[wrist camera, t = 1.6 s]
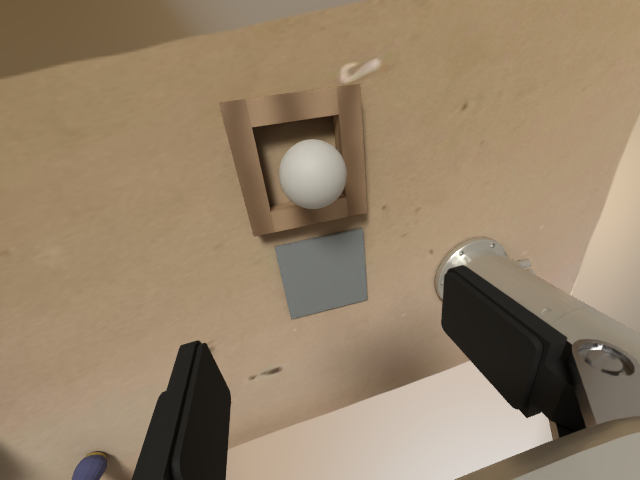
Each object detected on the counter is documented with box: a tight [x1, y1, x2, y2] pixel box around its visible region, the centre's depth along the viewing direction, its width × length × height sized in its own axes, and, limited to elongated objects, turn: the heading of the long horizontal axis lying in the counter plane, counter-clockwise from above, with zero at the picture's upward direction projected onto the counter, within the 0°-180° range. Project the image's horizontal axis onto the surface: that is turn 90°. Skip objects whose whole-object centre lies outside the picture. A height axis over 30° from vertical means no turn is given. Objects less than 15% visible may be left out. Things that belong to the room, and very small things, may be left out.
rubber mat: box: [275, 228, 367, 319], centre depth 38 cm, size 12×12×1 cm
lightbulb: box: [279, 139, 347, 209], centre depth 27 cm, size 6×6×11 cm
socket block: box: [219, 84, 367, 236], centre depth 30 cm, size 14×14×2 cm
